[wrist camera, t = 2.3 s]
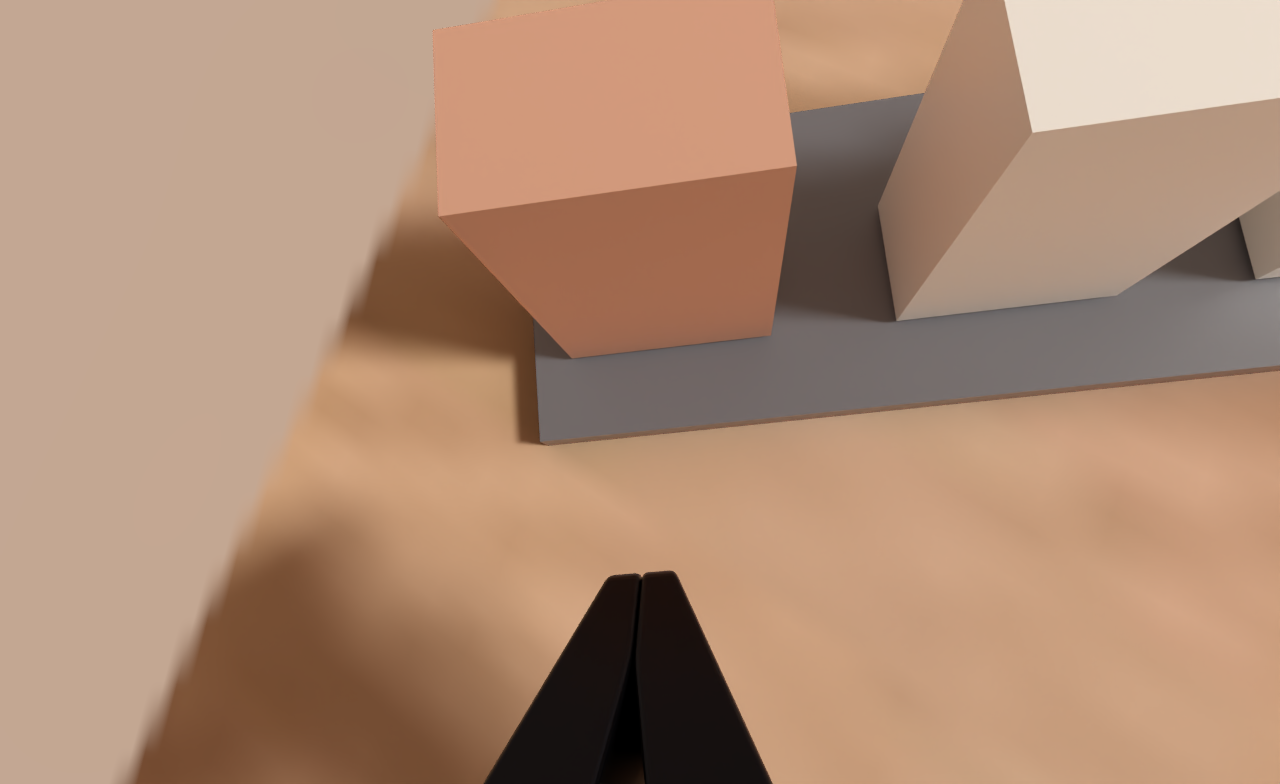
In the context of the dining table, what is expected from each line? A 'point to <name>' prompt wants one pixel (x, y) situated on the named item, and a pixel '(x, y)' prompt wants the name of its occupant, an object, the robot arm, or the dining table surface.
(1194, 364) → the keyboard deck
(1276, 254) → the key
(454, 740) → the dining table surface
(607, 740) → the robot arm
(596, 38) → the terracotta key
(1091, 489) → the dining table surface
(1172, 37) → the middle key
